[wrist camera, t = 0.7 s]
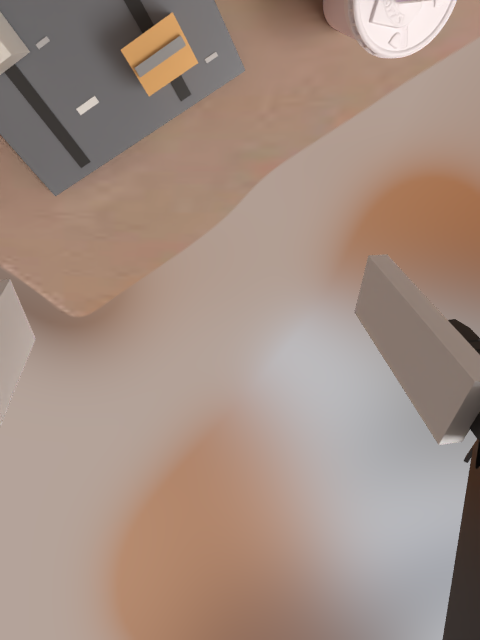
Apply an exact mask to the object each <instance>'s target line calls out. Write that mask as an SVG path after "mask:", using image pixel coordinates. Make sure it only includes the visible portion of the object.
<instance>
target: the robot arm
mask: <svg viewBox="0 0 480 640" xmlns="http://www.w3.org/2000/svg"><path fill="white" fill-rule="evenodd" d="M355 314H356V315H357V317H358V318H359V320H360V322H361V323H362V325H363V326H364V328H365V329H366V331H367V332H368V334H369V336H370V337H371V339H372V340H373V342H374V344H375V345H376V347H377V348H378V350H379V351H380V353H381V355H382V356H383V358H384V359H385V361H386V362H387V364H388V366H389V367H390V369H391V370H392V372H393V374H394V375H395V377H396V378H397V380H398V381H399V383H400V384H401V386H402V388H403V389H404V391H405V392H406V394H407V396H408V397H409V399H410V400H411V402H412V403H413V405H414V407H415V408H416V410H417V411H418V413H419V415H420V416H421V417H422V419H423V421H424V422H425V424H426V426H427V427H428V429H429V430H430V432H431V433H432V434H433V437H434V438H435V440H436V441H437V443H438V444H439V445H440V444H448V443H455V442H462V441H463V439H464V438H465V436H466V435H467V433H468V431H469V430H470V429H471V431H472V432H473V433H474V435H475V436H476V437H477V441H476V442H475V443H474V445H473V446H472V448H471V449H470V451H469V453H468V454H467V455H466V457H465V459H464V461H465V462H467V463H468V461H469V460H470V458H471V464H470V470H469V477H468V483H467V489H466V495H465V502H464V508H463V514H462V521H461V527H460V533H459V540H458V546H457V552H456V559H455V565H454V572H453V578H452V585H451V590H450V597H449V603H448V609H447V616H446V622H445V628H444V635H443V640H480V338H479V337H478V336H477V335H476V334H475V333H474V332H473V331H472V330H471V329H470V328H469V327H467V326H465V325H464V324H462V323H461V322H459V321H457V320H456V319H453V320H447V319H446V318H445V317H444V316H443V315H442V313H441V312H440V311H439V310H438V309H437V308H436V307H435V306H434V305H433V304H432V303H431V302H430V300H429V299H428V298H427V297H426V296H425V295H424V294H423V293H422V292H421V291H420V290H419V289H418V288H417V286H415V284H414V283H413V282H412V281H411V280H410V279H409V278H408V277H407V276H406V275H405V273H404V272H403V271H402V270H401V269H400V268H399V267H398V266H397V265H396V264H395V263H394V262H393V260H392V259H390V257H389V256H388V255H372V256H368V260H367V264H366V268H365V272H364V276H363V281H362V284H361V288H360V292H359V296H358V300H357V304H356V308H355ZM34 342H35V336H34V334H33V332H32V329H31V327H30V324H29V322H28V320H27V318H26V315H25V313H24V310H23V308H22V306H21V303H20V301H19V298H18V296H17V294H16V291H15V289H14V287H13V284H12V282H11V280H10V279H7V280H0V425H1V423H2V421H3V418H4V416H5V413H6V411H7V409H8V406H9V404H10V401H11V399H12V396H13V394H14V391H15V389H16V386H17V384H18V381H19V379H20V377H21V374H22V371H23V369H24V367H25V364H26V362H27V359H28V357H29V354H30V352H31V349H32V347H33V344H34Z"/></svg>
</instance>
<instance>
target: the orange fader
mask: <svg viewBox="0 0 480 640" xmlns="http://www.w3.org/2000/svg"><path fill="white" fill-rule="evenodd" d="M121 52H122V53H123V55H124V57H125V58H126V60H127V61H128V63H129V65H130V66H131V68H132V70H133V71H134V73H135V75H136V76H137V78H138V79H139V81H140V83H141V84H142V86H143V88H144V89H145V91H146V93H147V94H148V96H151V95H152V94H154V93H155V92H157V91H158V90H160V89H161V88H162V87H164V86H165V85H167V84H168V83H170V82H171V81H173V80H174V79H176V78H177V77H179V76H180V75H181V74H183V73H184V72H186V71H187V70H189V69H190V68H192V67H193V66H195V65H196V64H198V61H197V59H196V57H195V55H194V53H193V51H192V49H191V47H190V45H189V43H188V41H187V39H186V38H185V36H184V34H183V32H182V30H181V28H180V26H179V24H178V22H177V20H176V18H175V16H174V14H173V12H172V13H171V14H169V15H168V16H167V17H165V18H164V19H163V20H161V21H160V22H158V23H157V24H156V25H154V26H153V27H151V28H150V29H149V30H147V31H146V32H145V33H143V34H142V35H140V36H139V37H138V38H136V39H135V40H134V41H132V42H131V43H129V44H128V45H127V46H125V47H124V48H123V49H121Z"/></svg>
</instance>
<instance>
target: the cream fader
mask: <svg viewBox="0 0 480 640" xmlns="http://www.w3.org/2000/svg"><path fill="white" fill-rule="evenodd" d="M28 53H30V51H29V50H28V48H27V47H26V46H25V44H24V43H23V42H22V40H21V39H20V38H19V36H18V35H17V33H16V32H15V31H14V29H13V28H12V27H11V25H10V24H9V23H8V21H7V20H6V19H5V17H4V16H3V15H2V13H1V12H0V75H1V74H2V73H3V72H5V71H6V70H7V69H9V68H10V67H11V66H13V65H14V64H15V63H16V62H18V61H19V60H20V59H22V58H23V57H24V56H26V55H27V54H28Z"/></svg>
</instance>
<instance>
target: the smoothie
mask: <svg viewBox="0 0 480 640" xmlns="http://www.w3.org/2000/svg"><path fill="white" fill-rule="evenodd" d="M456 1H457V0H323V11H324V16H325V18H326V20H327V22H328V24H329V25H330V26H331V27H332V28H334V29H335V30H337V31H339V32H341V33H343V34H345V35H347V36H349V37H351V38H353V39H355V40H357V41H358V43H359V45H361V46H362V47H363V48H364V49H365V50H366V51H367V52H368V53H370V54H372V55H375V56H377V57H379V58H401V57H405V56H408V55H411V54H413V53H415V52H417V51H419V50H420V49H422V48H423V47H425V46H426V45H427V44H428V43H429V42H430V41H431V40H433V39H434V37H435V36H436V35H437V34H438V33H439V32H440V30H441V29H442V28H443V26H444V25H445V23H446V22H447V20H448V18H449V17H450V15H451V13H452V11H453V8H454V6H455V4H456Z"/></svg>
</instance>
